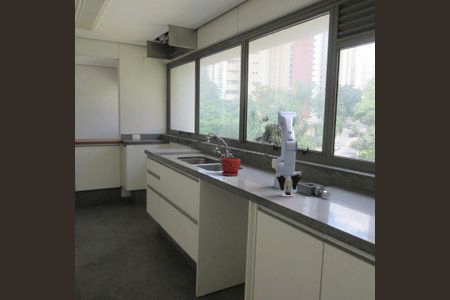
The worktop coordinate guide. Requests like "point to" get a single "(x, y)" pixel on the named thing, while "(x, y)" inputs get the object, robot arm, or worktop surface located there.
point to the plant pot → (230, 166)
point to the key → (288, 187)
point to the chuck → (312, 189)
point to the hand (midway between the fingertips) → (288, 189)
